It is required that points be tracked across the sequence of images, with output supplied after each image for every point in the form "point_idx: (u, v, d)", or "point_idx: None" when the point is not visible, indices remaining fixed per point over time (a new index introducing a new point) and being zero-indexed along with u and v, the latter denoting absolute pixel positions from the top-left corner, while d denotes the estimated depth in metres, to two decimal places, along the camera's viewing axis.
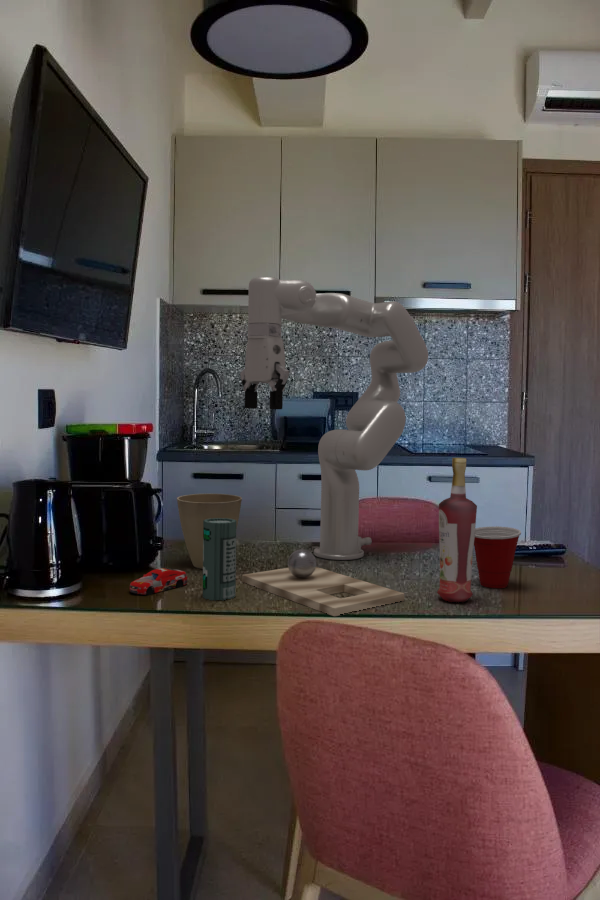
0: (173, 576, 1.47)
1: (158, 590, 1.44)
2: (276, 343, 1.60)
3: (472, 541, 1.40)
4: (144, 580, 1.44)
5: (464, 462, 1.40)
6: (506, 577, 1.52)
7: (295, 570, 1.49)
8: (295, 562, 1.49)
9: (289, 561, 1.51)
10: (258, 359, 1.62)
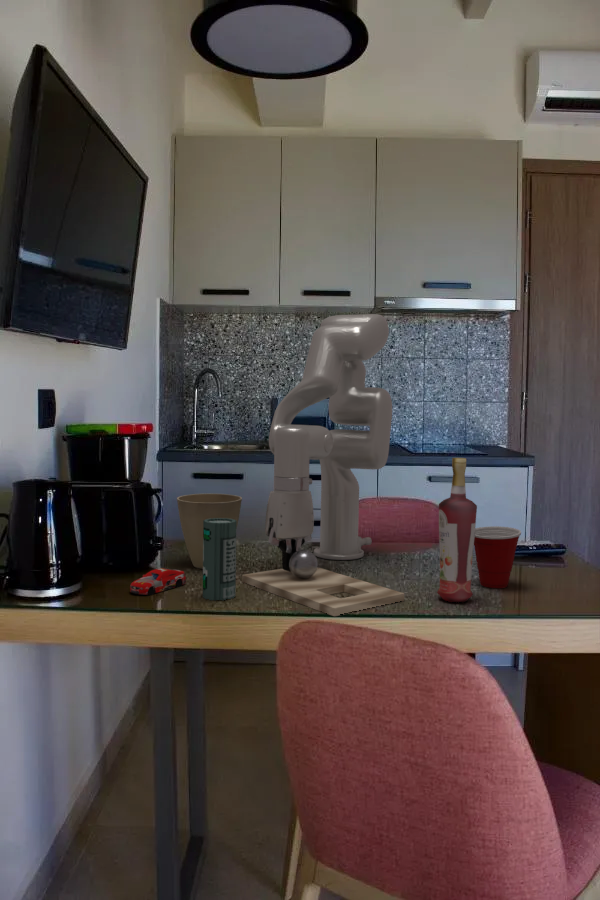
0: (173, 576, 1.47)
1: (159, 590, 1.44)
2: None
3: (472, 541, 1.40)
4: (145, 580, 1.44)
5: (464, 462, 1.40)
6: (506, 577, 1.52)
7: (296, 572, 1.49)
8: (297, 563, 1.49)
9: (291, 561, 1.50)
10: (302, 514, 1.53)
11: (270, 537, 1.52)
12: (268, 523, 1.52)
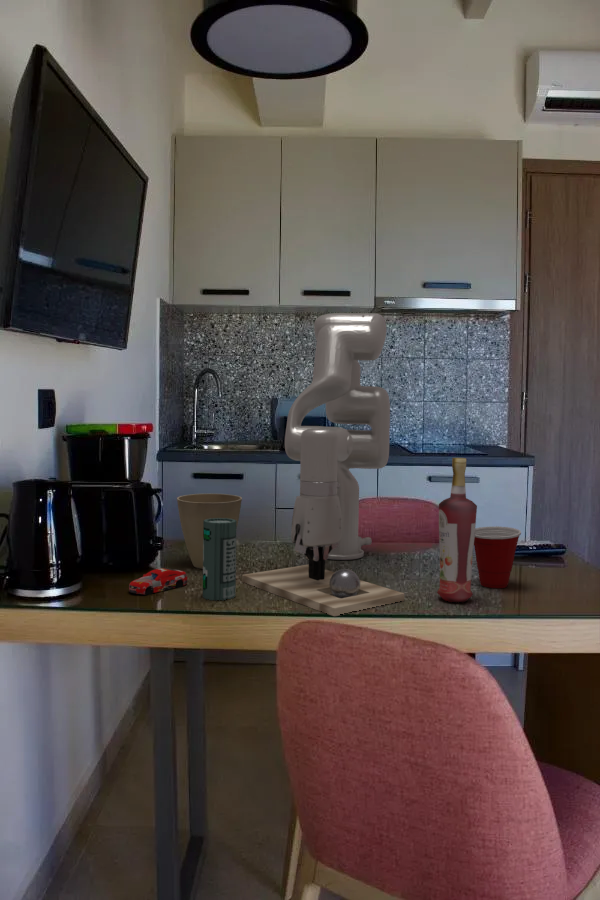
0: (173, 576, 1.47)
1: (157, 590, 1.44)
2: None
3: (472, 541, 1.40)
4: (143, 580, 1.44)
5: (464, 462, 1.40)
6: (506, 577, 1.52)
7: (342, 573, 1.39)
8: (336, 572, 1.41)
9: (332, 580, 1.40)
10: (330, 520, 1.46)
11: (297, 544, 1.44)
12: (294, 530, 1.45)
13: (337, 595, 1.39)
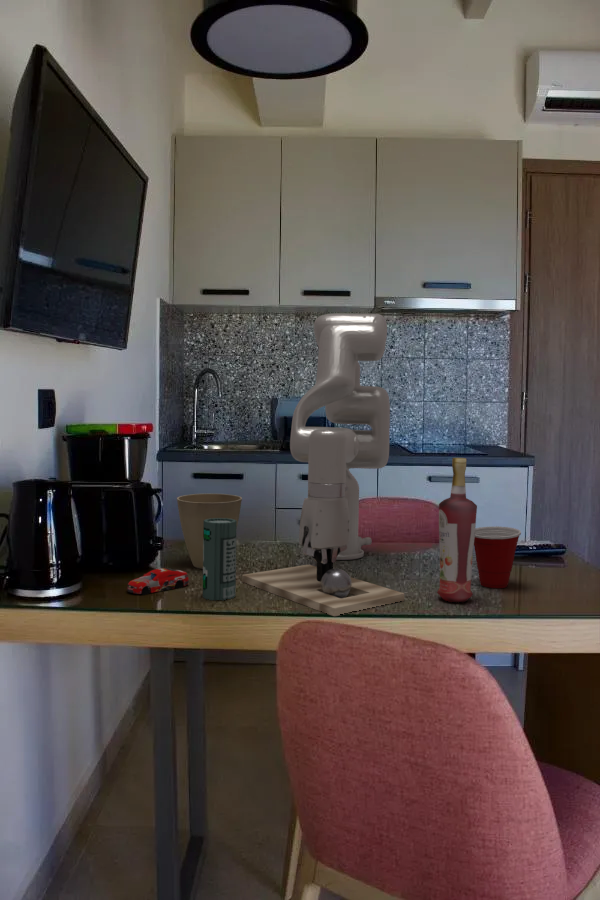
0: (172, 577, 1.47)
1: (155, 590, 1.44)
2: None
3: (472, 541, 1.40)
4: (142, 580, 1.44)
5: (464, 462, 1.40)
6: (506, 577, 1.52)
7: (324, 578, 1.40)
8: None
9: (321, 587, 1.41)
10: (338, 522, 1.44)
11: (305, 547, 1.43)
12: (302, 532, 1.43)
13: None
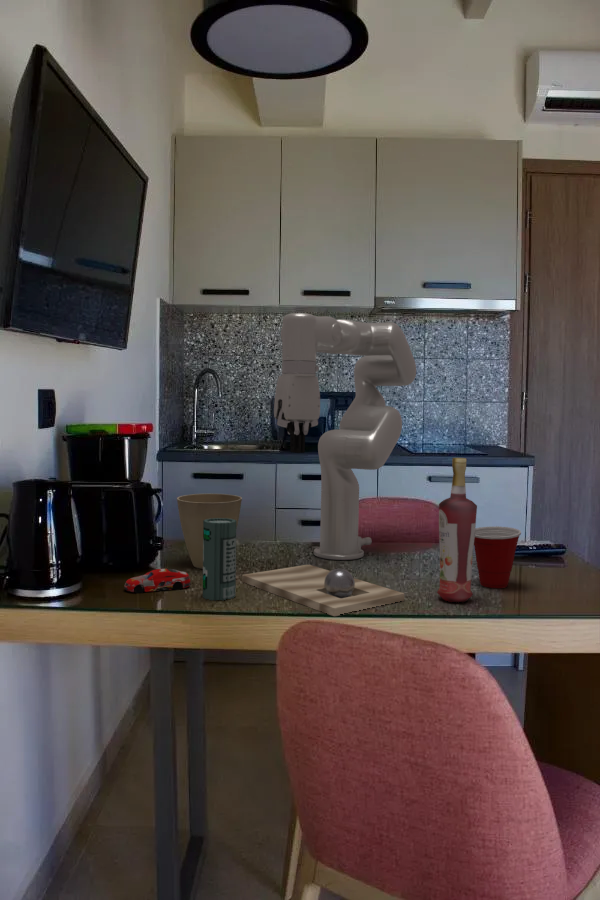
0: (170, 578, 1.46)
1: (149, 590, 1.44)
2: None
3: (472, 541, 1.40)
4: (138, 578, 1.45)
5: (464, 462, 1.40)
6: (506, 577, 1.52)
7: (330, 575, 1.40)
8: None
9: (324, 584, 1.41)
10: (309, 397, 1.60)
11: (279, 418, 1.58)
12: (277, 405, 1.59)
13: None
